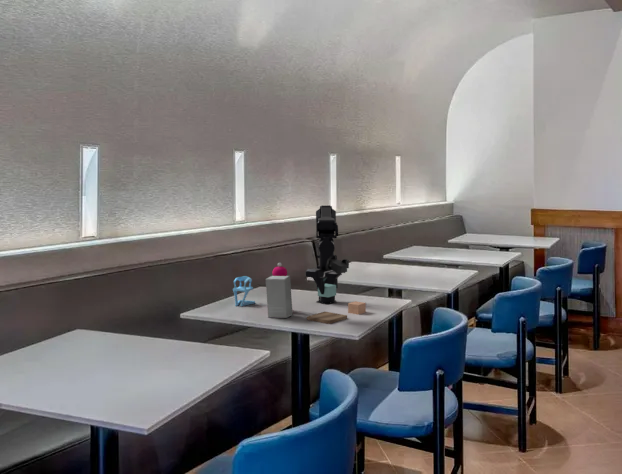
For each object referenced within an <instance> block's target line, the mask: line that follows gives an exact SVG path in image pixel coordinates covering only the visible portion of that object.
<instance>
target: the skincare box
mask: <svg viewBox="0 0 622 474" xmlns="http://www.w3.org/2000/svg"><path fill="white" fill-rule="evenodd" d="M265 289H266V303H267V304H266V305H267V317H268V318H276V319H278V318H279V319H280V318H281V319H288V318H289V317H290V316H292V315H293V301H292V285H291V276H290V275H287V276H273V275H270V276H269V277H267V278H265Z"/></svg>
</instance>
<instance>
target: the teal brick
mask: <svg viewBox="0 0 622 474" xmlns="http://www.w3.org/2000/svg"><path fill="white" fill-rule="evenodd" d="M317 296H318V297H319V296H322V297H332V296H335V297H336V296H337V288H336V285H332V284H325V289H324V294H321V293H320V290H319V288H318V289H317Z"/></svg>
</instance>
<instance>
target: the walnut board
mask: <svg viewBox="0 0 622 474" xmlns="http://www.w3.org/2000/svg"><path fill="white" fill-rule="evenodd" d="M346 319H348V315H347V314H341V313H335V312H330V311H322V312H318V313H315V314H311V315H307V316H306V320H308V321H313V322H318V323H323V324H327V325H329V324H333V323H337V322H340V321H343V320H346Z"/></svg>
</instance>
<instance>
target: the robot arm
mask: <svg viewBox="0 0 622 474" xmlns="http://www.w3.org/2000/svg"><path fill="white" fill-rule="evenodd" d="M315 225H316V229H315V230H316V232H315V233H316V234H315V235H316V236H315V237H316V239H319V240H318V254H317V255H316V258H317V259H318V263H319V264H318V265H316V268H314V267H312V268H307V269H306V270H305V277H307V278H311V279H313V281H314V282H315V284H316V290H318V288H319V290H320V293H321V294H324V289H325V284H332V285H336V289H338V286H339V285H338V282H339V281H338V280H339V279H338V278H339V277H341V276H342V275H343V274H346V273H347V272H348V269H350V266H349V265H350V261H349V260H348V259H346V258H344V259H342V260H339V259H338V255H337V254H335V240H334V239H337V238H338V236H339V225H338V223H337V211H336V210H335V209H333V205H331V204H330V205H328V204H327V205H320V206H319V208H318V209H317V210H316V211H315ZM337 301H338V300H336V296H332V297H322V296H318V300H316V303H317V304H318V303H319V304H324V305H329V304H334V303H336V302H337Z"/></svg>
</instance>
